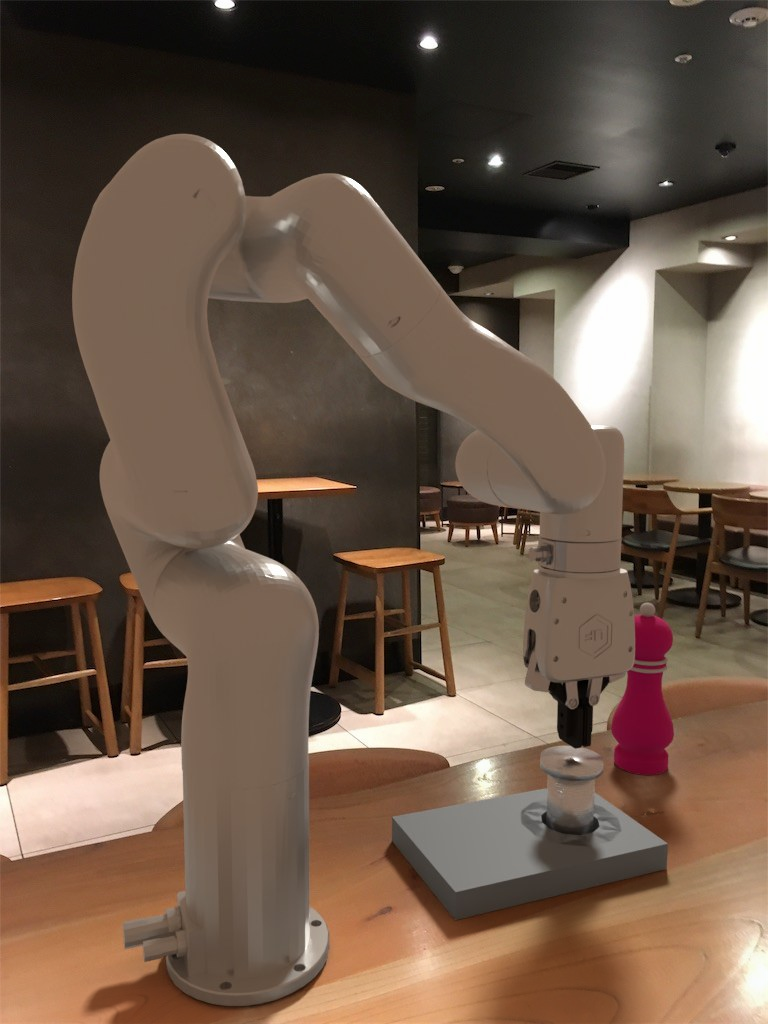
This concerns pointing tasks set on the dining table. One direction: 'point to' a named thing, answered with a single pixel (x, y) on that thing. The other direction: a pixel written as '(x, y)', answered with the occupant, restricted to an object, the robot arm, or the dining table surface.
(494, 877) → the plate
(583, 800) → the grey cylindrical piece
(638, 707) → the pepper mill
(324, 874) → the dining table surface
